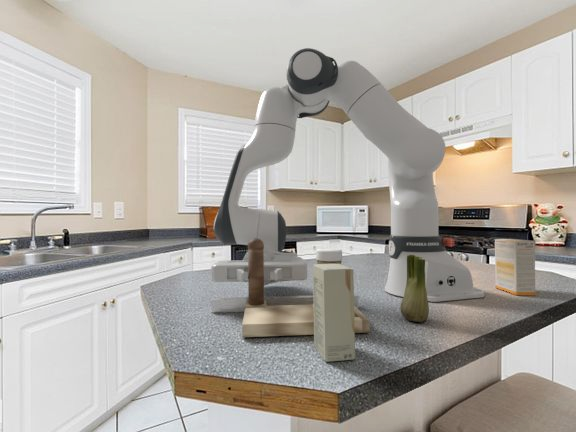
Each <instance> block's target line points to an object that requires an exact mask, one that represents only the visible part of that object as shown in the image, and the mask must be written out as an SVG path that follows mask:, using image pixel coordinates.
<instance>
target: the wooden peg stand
mask: <svg viewBox="0 0 576 432" xmlns="http://www.w3.org/2000/svg"><path fill="white" fill-rule="evenodd" d="M247 251H248V273H249V276H248V278H249V282H247V283H248V287H247V289H248V297H249V301H246V306H245V312H243V313H244V314H243V320H242V326H241V327H242V328H241V329H242V333H241V334H242V336H241V337H242V338H255V337H256V338H258V337H260V338H261V337H279V336H281V337H284V336H285V337H286V336H307V335H313V336H314V304H310V305H277V306H267V302H266V300H264V297H265V286H264V243H263V242H262V240H260V239H258V238H254V239H252V240H250V241H249V243H248V245H247ZM370 325H371V324H370V319H369V318H368V317H367V316H366V315H365V314H364V313H363V312H362V311H360V309H359V308H356V307H355V306H354V328H355V334H360V333H362V334H363V333H370V330H371V329H370Z"/></svg>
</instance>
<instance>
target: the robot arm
mask: <svg viewBox="0 0 576 432" xmlns="http://www.w3.org/2000/svg"><path fill="white" fill-rule="evenodd" d="M286 80H287V84H286V85H285V86H282V87H278V86H277V87H276V86H274V87H269V88H267V89H265V90H264V91H263V92H262V93H261V96H260V99H259V101H258V104H257V108H256V113H255V116H254V117H255V118H254V125H253V131H252V135H251V137H250V139H249V140H248V141H247V143H246V144H243V145H241V146H240V147H239V148H238V151H237V153H236V155H235V157H234V161H233V163H232V168H231V170H230V173H229V177H228V180H227V184H226V187H225V188H224V189H225V190H224V193H223V196H222V200H221V203H220V206H219V208H218V211H217V213H216V216H215V219H214V221H213V235H214V236H215V237H216V239H217V240H218V241H219V242H220V243H222V244H223V245H224V246H225V245H233V246H234V245H236V246H237V245H243V246H244V245H245V246H248V243H249V241H250V240H252V239H254V238H258V239H260V240H262V242H263V243H264V287H265V286H268V285H272V284H275V283H279V282H280V283H281V282H291V281H306V280H307V279H308V263H307V261H306V260H305V259H303V258H302V257H300V256H298V253H297V252H295V251H294V252H293V251H285V250H284V249H285V246H286V245H285V244H286V240H287V239H286V238H287V224H286V220H285V218H284V216H283V215H282V214H281V212H280V211H278V210H272V209H263V208H261V209H258V208H251V207H249V208H248V207H242V206H240V205H239V201H240V198H241V194H242V191H243V187H244V185H245V184H244V183H245V181H246V178H247V177H248V175H249V174H250V173H252V172H254V171H256V170H258V169H261V168H264V167H270V166H273V165H275V164H276V165H277V164H279V163H281V162H282V161H284V160H286V159H287V158H288V157H289V156H290V155H291V153H292V152H293V148H294V144H295V138H296V129H297V128H296V126H297V121H298V120H297V119H304V118H307V117H308V118H309V117H315V116H316V117H317V116H319V115H321V114H322V113H323V112H324V111H325V110H326V109H327V107H328V106H329V104H330V102H333V103H335V104H336V105H338V106H339V107H340V108H341V109H342V111H343V112H344V113H345V114H346V115H347V117H348V118H349V119H350V121H351V122H352V123H353V124H354V125H355V127H356V128H357V129H358V130H359V131H360V132H361V133H362V134H363V136H364V137H365V138H366V139H367V140H368V141H370V142H371V143H372V144H374V145H375V147H376V148H378V149H379V151H381V152H382V153H383V154H384V155H385V156H386V157H387V158H388V160H387V169H388V171H387V172H388V173H387V174H388V187H389V188H388V189H389V198H390V235H388V236H389V237H388V255H389V258H390V259H389V267H388V268H389V269H388V275H387V279H386V283H385V285H384V286H385V287H384V291H385V292H386V293H388V294H391V295H394V296H397V297H402V298H403V297H404V293H405V288H406V283H407V255H415V256H417V257H422V259H425V285H426V293H427V298H428V302H432V303H437V302H439V303H440V302H446V301H447V302H448V301H458V300H469V299H478V298H484V297H485V293H484V292H485V291H483V290H482V289H480V288H478V287H475V286H474V282H473V277H472V273H471V271H470V269H469V268H468V267H467V265H464V264H463V263H462V262H461V261H460V260H458V259H457V258H455V257H454V256H452V255H451V254H450V253H449V252H447V249H446V247H449V248H450V247H451V248H452V247H454V245H456V244H455V243H456V242H455V240H454V238H452V237H451V238H450V237H445V238H443V237H442V236H441V235H439V202H438V199H437V195H436V191H435V190H436V189H435V185H434V176H433V175H434V172H435V171H437V170H438V169H439V168H440V166H441V164H442V163H443V160H444V159H445V153H446V143H445V140H444V137H442V135H441V134H440V133H439V132H438V131H436V130H435V129H432V128H430V127H427V126H426V125H425V124H424V123H423V122H421V121H420V120H419V119H417V118H416V117H415V116H413V115H412V114H411V113H409V112H408V111H407V110H406V109H405V108H404V107H403V105H401V104H400V103H399V102H398V101H397V100H396V99H395V98H394V96H393V95H392V94H391V93H390V91H388V90H387V88H386V87H385V86H384V85H383V84H382V83H381V82H380V80H379V79H378V78H376V76H374V75H373V73H372V72H370V71H369V70H368V69H366V67H364V66H363V65H361V64H360V63H359V62H357V61H355V60H348V61H345V62H342V63H340V64H339V65H338V63H337V61H336V60H335V58H333V57H332V56H328V55H326V54H325V53H323V52H322V51H320V50H318V49H314V48H309V47H307V48H302V49H299V50H297V51H296V52H294V53H293V54H292V56H291V57H290V59H289V61H288V64H287V67H286ZM283 250H284V251H283ZM210 269H211V270H210V272H211V275H210V278H211V281H212V282H214V283H233V282H241V283H248V282H249V278H248V276H249V273H248V250H247V251H246V253H245V255H244V257H243V259H242V260H241V259H240V260H236V259H235V260H232V259H231V260H220V261H217V262H215V263H213V264H212V265H211V268H210Z"/></svg>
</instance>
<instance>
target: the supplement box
mask: <svg viewBox="0 0 576 432" xmlns="http://www.w3.org/2000/svg"><path fill="white" fill-rule="evenodd" d="M535 244H536V241H535V240H530V239H529V240H528V239H527V240H526V239H517V238H494V273H495V274H494V275H495V277H494V278H495V280H494V282H495V284H494V285H495V286H494V287H495V289H497V288H498V289H497V290H500V289H501V290H500V291H503V290H504V291H503V292H506V291H507V292H506V293H509V292H510V293H509V294H512V295H515V296H536V245H535Z"/></svg>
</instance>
